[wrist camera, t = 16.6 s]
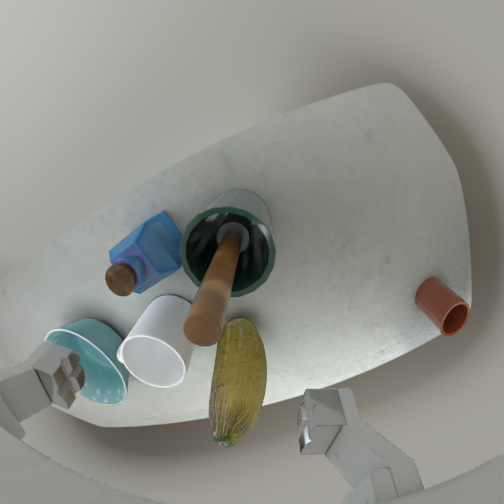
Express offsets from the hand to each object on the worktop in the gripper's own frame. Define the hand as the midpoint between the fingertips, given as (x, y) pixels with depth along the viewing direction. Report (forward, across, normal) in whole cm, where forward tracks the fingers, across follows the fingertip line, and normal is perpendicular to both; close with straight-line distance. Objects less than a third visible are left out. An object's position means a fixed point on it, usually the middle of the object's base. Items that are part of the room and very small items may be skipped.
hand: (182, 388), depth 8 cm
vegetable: (+27, -2, +15) cm, 31 cm away
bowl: (+27, +22, +23) cm, 42 cm away
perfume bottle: (+27, +10, +4) cm, 29 cm away
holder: (+27, -30, +8) cm, 41 cm away
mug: (+27, +10, +16) cm, 33 cm away
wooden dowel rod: (+26, 0, 0) cm, 26 cm away
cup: (+27, 0, 0) cm, 27 cm away
